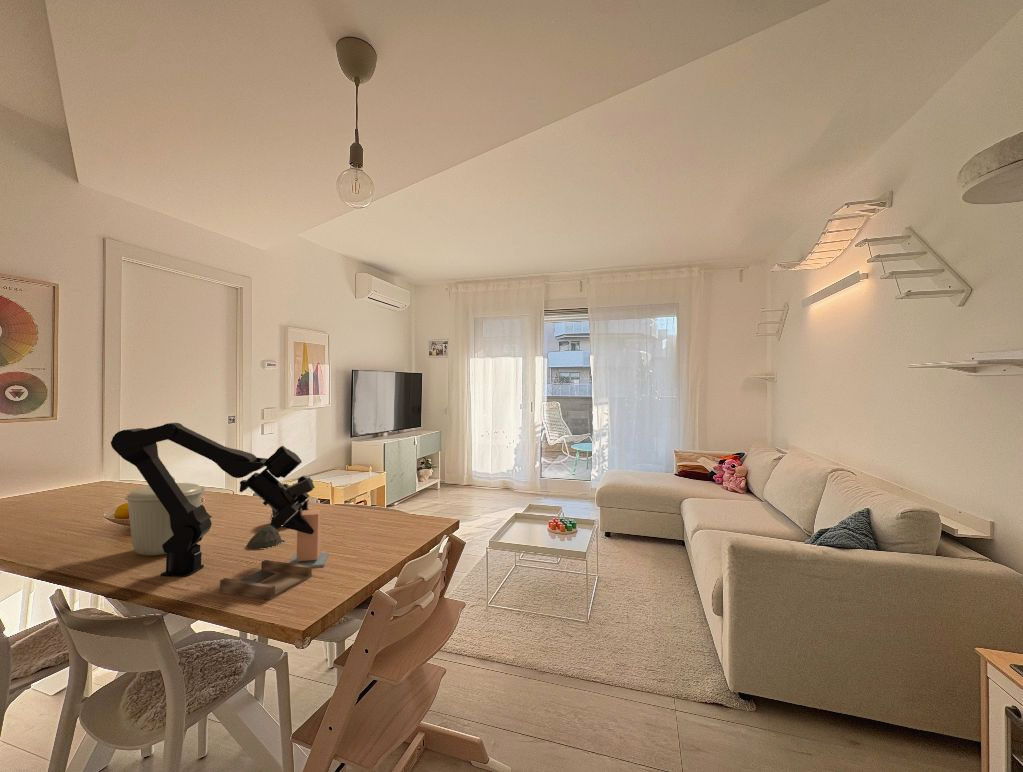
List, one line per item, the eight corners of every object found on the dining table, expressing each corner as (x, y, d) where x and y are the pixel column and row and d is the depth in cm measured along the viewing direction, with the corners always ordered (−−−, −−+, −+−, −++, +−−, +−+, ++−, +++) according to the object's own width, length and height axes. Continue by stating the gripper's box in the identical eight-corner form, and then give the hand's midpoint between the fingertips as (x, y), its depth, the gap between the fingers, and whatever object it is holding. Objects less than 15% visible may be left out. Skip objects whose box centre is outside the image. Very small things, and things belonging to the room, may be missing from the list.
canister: (145, 541, 130) (148, 471, 131) (213, 537, 135) (216, 470, 135) (105, 564, 113) (109, 483, 113) (185, 558, 117) (188, 480, 118)
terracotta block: (296, 561, 113) (297, 515, 114) (300, 554, 118) (301, 510, 118) (317, 559, 115) (318, 514, 115) (320, 553, 119) (321, 509, 120)
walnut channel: (219, 591, 98) (219, 580, 98) (265, 570, 110) (265, 559, 110) (270, 600, 94) (270, 588, 94) (311, 576, 107) (312, 565, 107)
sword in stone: (259, 552, 123) (260, 510, 124) (241, 549, 126) (241, 508, 127) (290, 541, 132) (290, 502, 133) (272, 539, 136) (272, 500, 136)
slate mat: (286, 569, 111) (286, 567, 111) (293, 557, 119) (293, 555, 119) (323, 566, 113) (323, 564, 113) (328, 554, 122) (328, 552, 122)
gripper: (287, 474, 107) (333, 516, 110) (302, 463, 125) (341, 499, 128) (250, 507, 105) (298, 550, 107) (271, 491, 123) (312, 528, 125)
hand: (314, 529), depth 117 cm, fingers open, 5 cm apart
